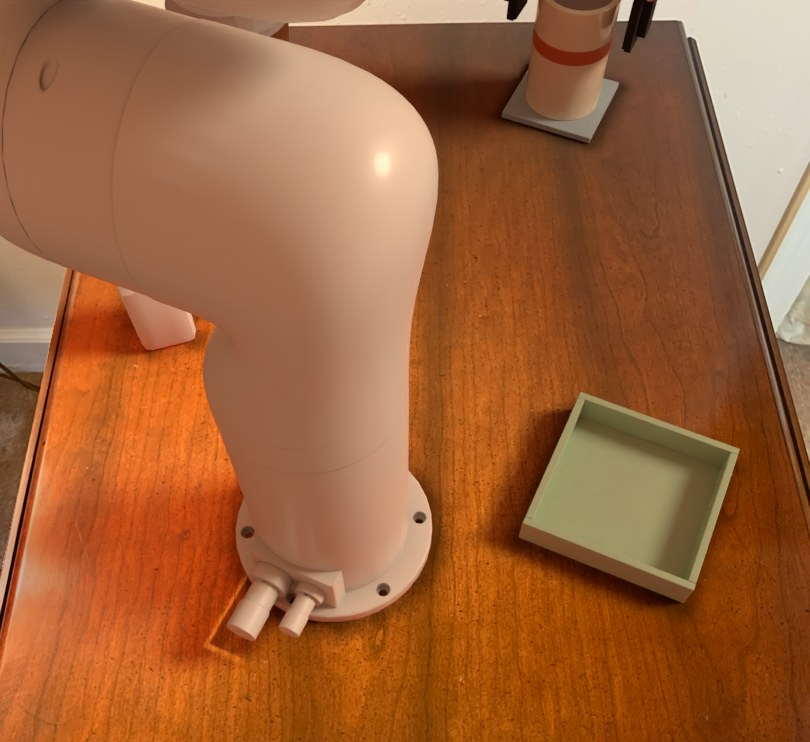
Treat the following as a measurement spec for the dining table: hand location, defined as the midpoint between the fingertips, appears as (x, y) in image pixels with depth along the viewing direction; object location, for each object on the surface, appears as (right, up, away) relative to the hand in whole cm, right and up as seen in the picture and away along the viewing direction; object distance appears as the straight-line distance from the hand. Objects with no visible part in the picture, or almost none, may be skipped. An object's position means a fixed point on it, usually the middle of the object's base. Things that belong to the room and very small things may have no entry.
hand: (573, 26), depth 65 cm
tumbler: (0, -2, +6) cm, 6 cm away
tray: (+1, -39, -11) cm, 40 cm away
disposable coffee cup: (-27, -6, +5) cm, 28 cm away
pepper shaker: (-31, -25, -4) cm, 40 cm away
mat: (0, -3, +6) cm, 7 cm away
